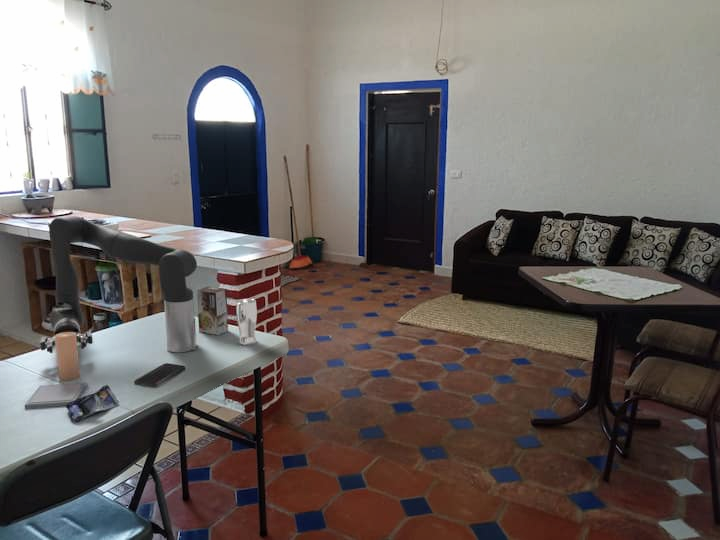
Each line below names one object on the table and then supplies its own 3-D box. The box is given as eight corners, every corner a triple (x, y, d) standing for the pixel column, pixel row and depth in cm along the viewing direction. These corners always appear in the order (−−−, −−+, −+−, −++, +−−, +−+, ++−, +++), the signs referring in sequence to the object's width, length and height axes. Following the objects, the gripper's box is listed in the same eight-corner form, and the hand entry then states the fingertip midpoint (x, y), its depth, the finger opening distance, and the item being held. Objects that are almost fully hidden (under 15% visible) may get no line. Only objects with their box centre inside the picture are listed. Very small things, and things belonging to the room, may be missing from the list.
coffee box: (229, 330, 205) (227, 288, 202) (217, 335, 199) (216, 292, 196) (209, 327, 209) (207, 285, 205) (198, 331, 203) (195, 289, 200)
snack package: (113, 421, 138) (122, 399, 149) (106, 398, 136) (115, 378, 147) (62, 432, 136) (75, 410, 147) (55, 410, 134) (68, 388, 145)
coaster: (86, 385, 156) (86, 381, 156) (75, 404, 145) (74, 400, 145) (40, 389, 154) (39, 385, 154) (24, 408, 142) (24, 404, 142)
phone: (187, 366, 170) (155, 385, 156) (187, 369, 170) (155, 389, 156) (165, 362, 172) (132, 381, 158) (165, 366, 172) (132, 385, 158)
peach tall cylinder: (82, 372, 165) (78, 331, 163) (77, 380, 160) (73, 337, 157) (62, 373, 164) (57, 332, 161) (56, 381, 159) (52, 338, 156)
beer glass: (259, 339, 197) (258, 298, 193) (254, 346, 190) (253, 304, 186) (240, 338, 197) (239, 298, 194) (234, 345, 190) (233, 303, 187)
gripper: (40, 323, 176) (38, 339, 162) (90, 318, 182) (92, 332, 168) (43, 345, 177) (41, 363, 163) (92, 339, 184) (94, 355, 170)
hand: (67, 347), depth 166 cm, fingers open, 8 cm apart
